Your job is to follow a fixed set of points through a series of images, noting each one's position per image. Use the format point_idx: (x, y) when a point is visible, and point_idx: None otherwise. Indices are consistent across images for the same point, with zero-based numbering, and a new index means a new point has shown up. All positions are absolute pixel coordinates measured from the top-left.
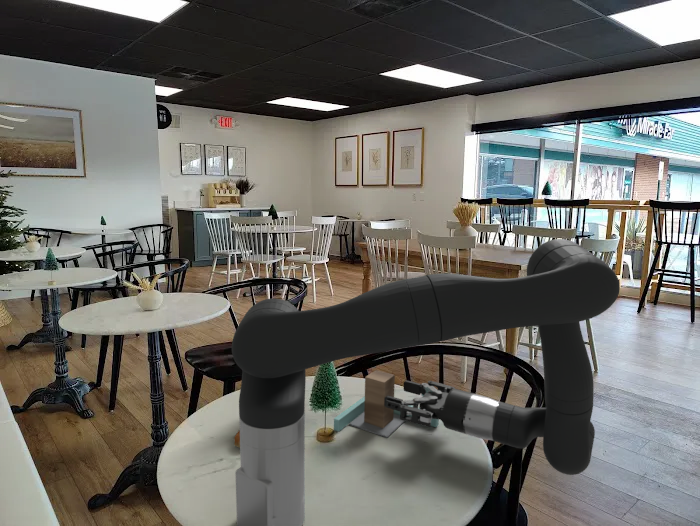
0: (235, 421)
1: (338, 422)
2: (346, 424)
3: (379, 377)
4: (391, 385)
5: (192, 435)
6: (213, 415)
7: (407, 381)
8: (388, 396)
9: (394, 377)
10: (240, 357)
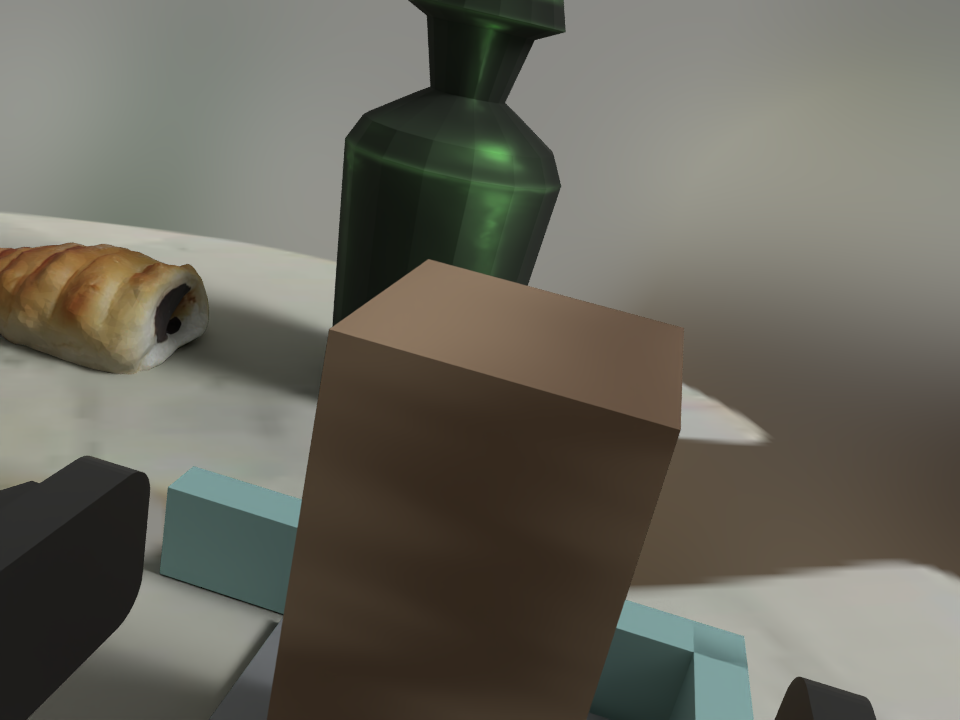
0: (226, 294)
1: (166, 503)
2: (267, 600)
3: (479, 320)
4: (536, 527)
5: (102, 238)
6: (263, 264)
7: (836, 712)
8: (93, 474)
9: (660, 466)
10: None
